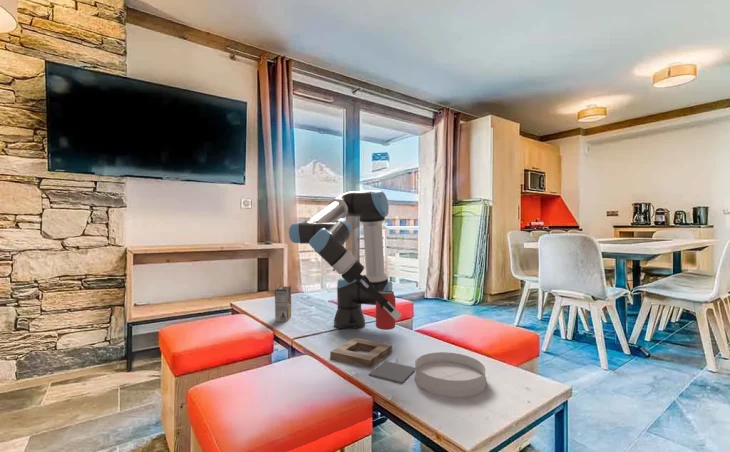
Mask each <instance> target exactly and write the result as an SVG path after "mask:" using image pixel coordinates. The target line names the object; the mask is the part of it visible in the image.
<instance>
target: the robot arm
mask: <svg viewBox="0 0 730 452" xmlns="http://www.w3.org/2000/svg"><path fill="white" fill-rule="evenodd" d="M388 215H389V201H388V198H387V195H386V194H385V192H384V191H382V190H375V189H374V190H358V191H357V190H356V191H355V190H350V191H348V192H344V193H341V194H339V195H337V196H336V197H334V198H333V199H331V200H330V201H329V202H328V205H326V206H325V207H324V208H322V209H320V211H318V212H317V213H315V214H314V215H312V216H311V217H309V218H308V219H307V220H305V221H304V222H294V223H292V224H291V225H290V227H289V230H288V236H289V240H290V241H291V243H293V244H300V245H301V244H303V245H304V244H308V245H309V246H310V247H311V248H312V249H313V250H314V252H315V253H317V254H318V255H319V256H320V257H321V258H322V259H323V260H324V261H325V262H327V264H329V266H330V267H331V268H332V269H331V270H332V271H333V272H335V271H336V273H337V274H339V275H340V276H341V278H339V279H338V280H337V284H336V285H337V286H336V291H337V293H336V297H337V298H336V300H337V301H336V302H337V303H336V304H337V309H336V312H335V316H334V319H333V326H334V327H335V328H338V329H342V330H343V329H344V330H352V329H358V328H359V329H360V328H363V327H364V326H365V325H366V319H365V316H364V312H363V309H362V305H366V306H367V305H370V306H376V301H377V302H378V303H379V304H380V306H381V307H380V308H381V309H382V308H384V309H385V310H386V311H387V312H388V313H389V314H390V315H391V316H392V317H393V318H394V319H395V321H398V319H400V317H402V316H403V314H402V313H401V312H400V311H399V310H398V309H397V308H396V306H395V307H394V306H393V305H392V304H391V303H390V302H389V301H388V300H387V299H385V298H384V297H383V296H382V295H381V294H380V293H379V292H378V291H383V290H387V291H393V282H392V281H391V280H389V276H388V275H387V274H386V273H385V262H384V261H385V260H384V258H385V257H384V256H385V255H384V242H383V240H384V238H383V223H384V222H385V220H386V217H387V216H388ZM346 217H348V218H349V217H352V218H353V217H357V218H358V219H359V220H358V221H359V222H360V223H361V224H362V226H363V228H362V229H363V230H362V231H363V242H364V243H363V244H364V258H365V259H364V260H365V267H364V265H363V264H362V263H361V262H360V261H359V260H357V259H356V257H355V256H354V255H353V254H352V253H351V252H350V251H349V250H348V249H347V248H345V247H344V244H346V242H347V240H348V239H349V238H350V236H351V234H352V231H353V228H352V224H351V223H350V221H349V220H347V219H345V218H346ZM364 270H365V274H364V275H362V273H363V271H364Z"/></svg>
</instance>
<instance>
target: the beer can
mask: <svg viewBox="0 0 730 452" xmlns="http://www.w3.org/2000/svg"><path fill="white" fill-rule="evenodd" d="M378 292H379V293H380V294H381V295H382V296H383V297H384V298H385V299H387V300H388V301H389V302H390V303H391V304H392V305H393V306H394V307H395V308H396V295H395V291H393V290H392V291H387V290H383V291H378ZM380 307H381V306H380V304H379V303H378V302H377V301H376V305H375V327H376V328H377V329H379V330H382V331H383V330H384V331H386V330H387V331H390V330H393V329H394V328H396V320H395V319H394V318H393V317H392V316H391V315H390V314H389V313H388V312H387V311H386V310H385V309H384V308H382V309H381V308H380Z"/></svg>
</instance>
